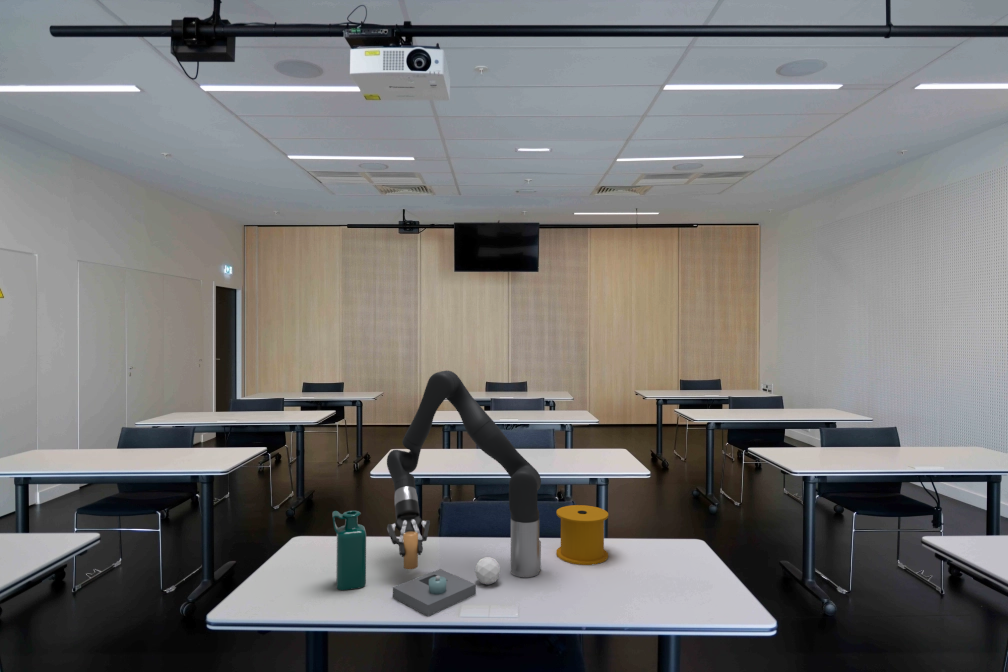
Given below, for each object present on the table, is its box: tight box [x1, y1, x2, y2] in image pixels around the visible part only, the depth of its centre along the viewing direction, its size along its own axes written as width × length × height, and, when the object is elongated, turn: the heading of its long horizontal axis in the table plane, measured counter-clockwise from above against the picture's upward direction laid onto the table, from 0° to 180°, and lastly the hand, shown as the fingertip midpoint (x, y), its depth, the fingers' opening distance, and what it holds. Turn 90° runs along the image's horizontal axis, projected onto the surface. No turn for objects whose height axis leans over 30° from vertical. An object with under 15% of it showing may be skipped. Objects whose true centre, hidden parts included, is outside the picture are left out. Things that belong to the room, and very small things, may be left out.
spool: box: [555, 504, 609, 566], centre depth 193 cm, size 18×18×15 cm
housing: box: [392, 568, 477, 617], centre depth 161 cm, size 18×16×7 cm
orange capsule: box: [403, 531, 419, 570], centre depth 171 cm, size 4×4×10 cm
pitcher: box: [332, 510, 367, 591], centre depth 169 cm, size 10×8×22 cm
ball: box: [474, 556, 501, 586], centre depth 170 cm, size 8×8×8 cm
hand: (411, 554), depth 169 cm, fingers closed on orange capsule, 4 cm apart
